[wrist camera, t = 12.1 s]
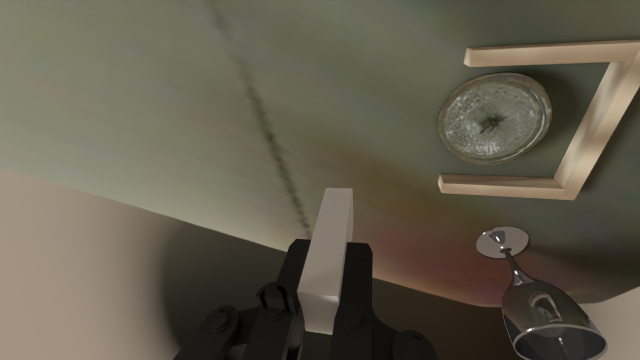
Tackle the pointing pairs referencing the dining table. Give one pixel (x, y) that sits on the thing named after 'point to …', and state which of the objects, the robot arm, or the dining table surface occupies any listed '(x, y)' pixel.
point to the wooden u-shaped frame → (594, 130)
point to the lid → (495, 118)
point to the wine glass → (540, 307)
